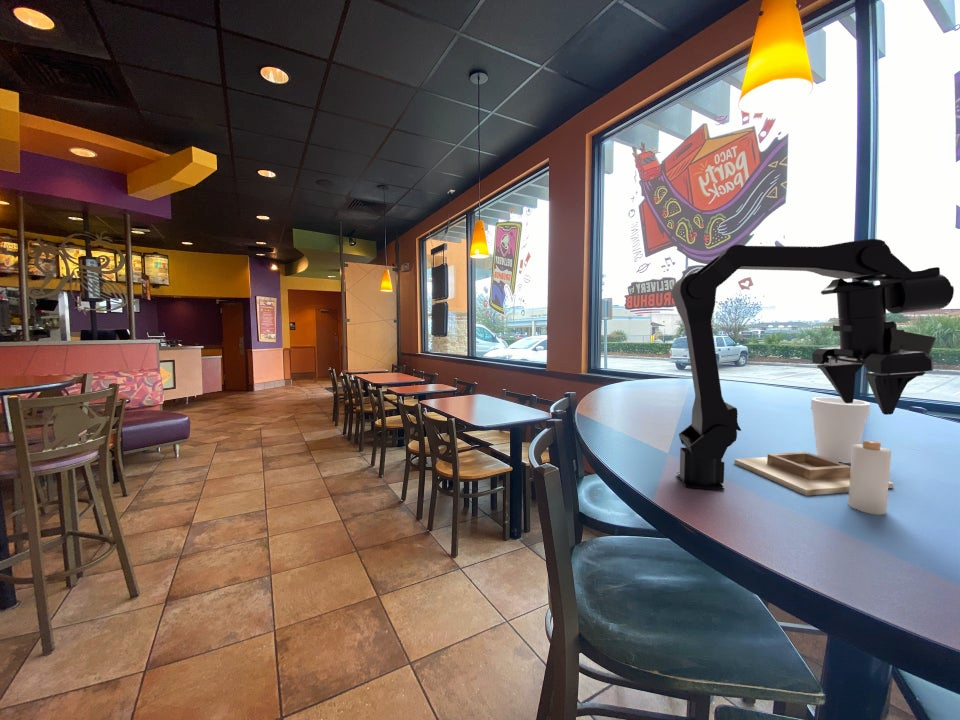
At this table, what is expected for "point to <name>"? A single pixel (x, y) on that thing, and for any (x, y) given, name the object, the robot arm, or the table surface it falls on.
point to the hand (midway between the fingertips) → (866, 408)
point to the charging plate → (802, 472)
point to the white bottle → (869, 477)
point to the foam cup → (838, 426)
